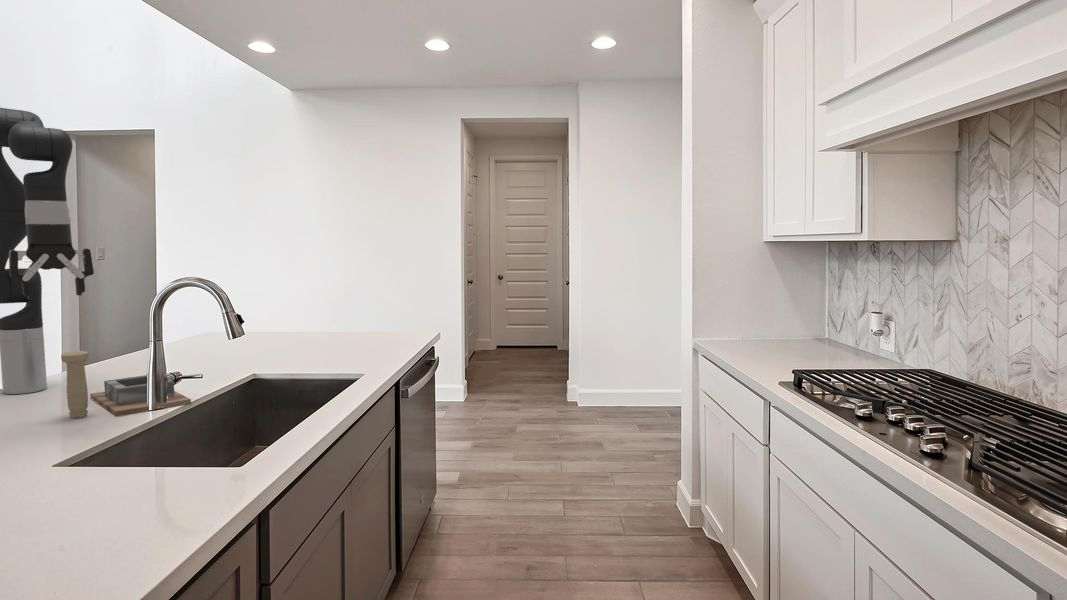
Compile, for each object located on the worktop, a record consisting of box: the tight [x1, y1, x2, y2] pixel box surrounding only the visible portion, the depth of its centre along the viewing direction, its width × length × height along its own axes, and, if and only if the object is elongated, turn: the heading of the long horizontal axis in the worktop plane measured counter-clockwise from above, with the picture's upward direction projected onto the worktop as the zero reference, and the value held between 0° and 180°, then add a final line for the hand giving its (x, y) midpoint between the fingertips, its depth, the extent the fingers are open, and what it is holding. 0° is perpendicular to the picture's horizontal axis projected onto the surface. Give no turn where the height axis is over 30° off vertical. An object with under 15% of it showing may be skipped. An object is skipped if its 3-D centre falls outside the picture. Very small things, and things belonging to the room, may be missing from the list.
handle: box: [60, 350, 89, 419], centre depth 140 cm, size 5×6×15 cm
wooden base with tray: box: [89, 374, 192, 418], centre depth 155 cm, size 24×16×5 cm, turn 48°
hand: (55, 296), depth 132 cm, fingers open, 8 cm apart
